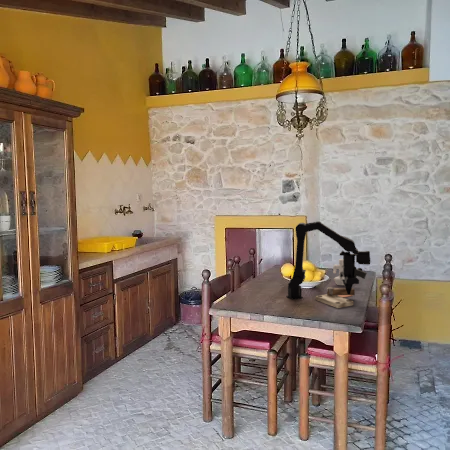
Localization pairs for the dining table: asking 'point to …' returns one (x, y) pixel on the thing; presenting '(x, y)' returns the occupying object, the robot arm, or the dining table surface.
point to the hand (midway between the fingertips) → (348, 294)
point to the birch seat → (334, 300)
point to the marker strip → (344, 295)
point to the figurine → (338, 279)
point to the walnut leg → (339, 291)
